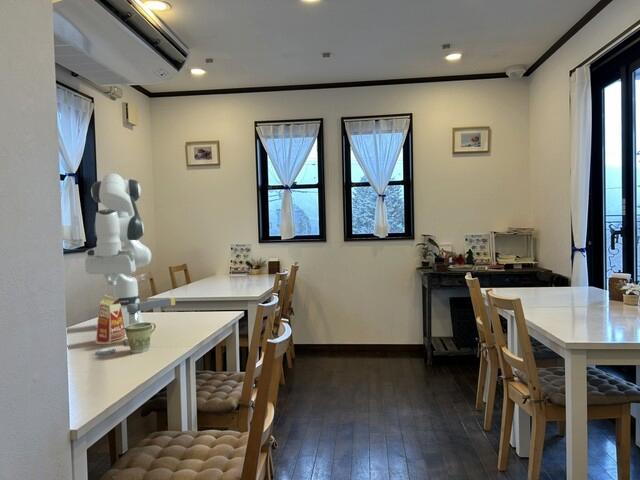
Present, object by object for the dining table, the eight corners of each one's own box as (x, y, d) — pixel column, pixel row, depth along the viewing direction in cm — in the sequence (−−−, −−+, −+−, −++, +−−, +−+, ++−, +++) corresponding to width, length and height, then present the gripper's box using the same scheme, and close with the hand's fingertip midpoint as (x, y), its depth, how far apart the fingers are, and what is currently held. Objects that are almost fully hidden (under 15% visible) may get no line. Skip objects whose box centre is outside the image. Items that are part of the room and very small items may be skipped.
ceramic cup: (138, 355, 171) (136, 329, 170) (120, 352, 175) (118, 327, 175) (165, 346, 182) (163, 321, 181) (148, 344, 187) (146, 319, 186)
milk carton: (95, 343, 192) (92, 296, 191) (112, 337, 201) (109, 292, 200) (112, 344, 189) (108, 296, 188) (128, 338, 198) (125, 293, 197)
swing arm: (130, 313, 187) (129, 305, 187) (125, 312, 190) (125, 304, 190) (175, 304, 202) (175, 297, 201) (171, 303, 205) (170, 296, 205)
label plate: (95, 354, 175) (95, 351, 175) (102, 351, 179) (102, 348, 179) (109, 354, 174) (109, 351, 174) (116, 351, 178) (115, 348, 178)
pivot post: (123, 342, 192) (120, 312, 191) (142, 338, 196) (140, 309, 196) (127, 346, 185) (125, 315, 185) (147, 342, 190) (145, 312, 189)
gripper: (137, 249, 182) (140, 283, 183) (92, 250, 186) (94, 283, 187) (128, 250, 176) (130, 286, 177) (81, 251, 180) (84, 286, 181)
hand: (111, 284), depth 182 cm, fingers closed
